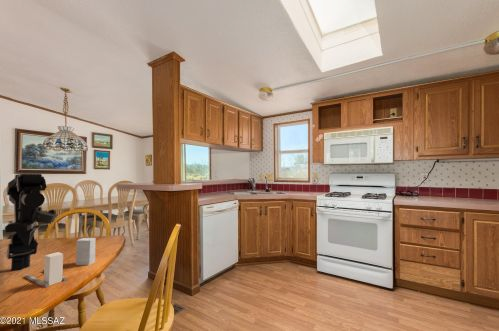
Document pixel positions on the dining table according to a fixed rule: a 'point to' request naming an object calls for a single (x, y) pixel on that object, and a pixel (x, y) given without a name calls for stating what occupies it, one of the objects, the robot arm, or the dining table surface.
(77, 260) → the skincare box
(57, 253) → the slider block
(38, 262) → the dining table surface
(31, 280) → the track
